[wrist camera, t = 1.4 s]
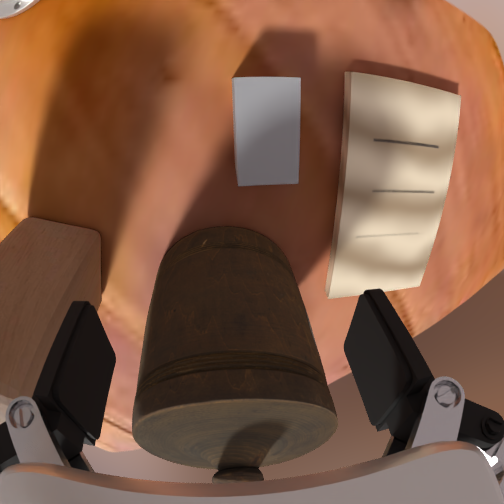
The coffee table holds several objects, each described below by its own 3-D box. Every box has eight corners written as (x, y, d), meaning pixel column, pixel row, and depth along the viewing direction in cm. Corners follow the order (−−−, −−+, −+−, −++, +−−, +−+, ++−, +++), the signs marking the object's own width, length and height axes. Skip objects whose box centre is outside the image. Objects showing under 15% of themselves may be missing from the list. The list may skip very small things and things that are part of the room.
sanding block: (231, 78, 21) (234, 77, 17) (285, 78, 22) (300, 77, 18) (235, 167, 26) (238, 186, 22) (285, 165, 26) (298, 183, 22)
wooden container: (242, 345, 38) (261, 508, 20) (137, 300, 33) (101, 488, 14) (318, 267, 33) (397, 458, 14) (201, 197, 27) (182, 448, 8)
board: (344, 71, 21) (351, 71, 20) (452, 93, 22) (461, 95, 21) (324, 290, 34) (328, 298, 33) (414, 279, 35) (419, 286, 34)
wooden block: (26, 211, 25) (-83, 348, 8) (104, 227, 27) (17, 404, 11) (35, 283, 30) (-31, 416, 13) (104, 300, 32) (58, 457, 15)
